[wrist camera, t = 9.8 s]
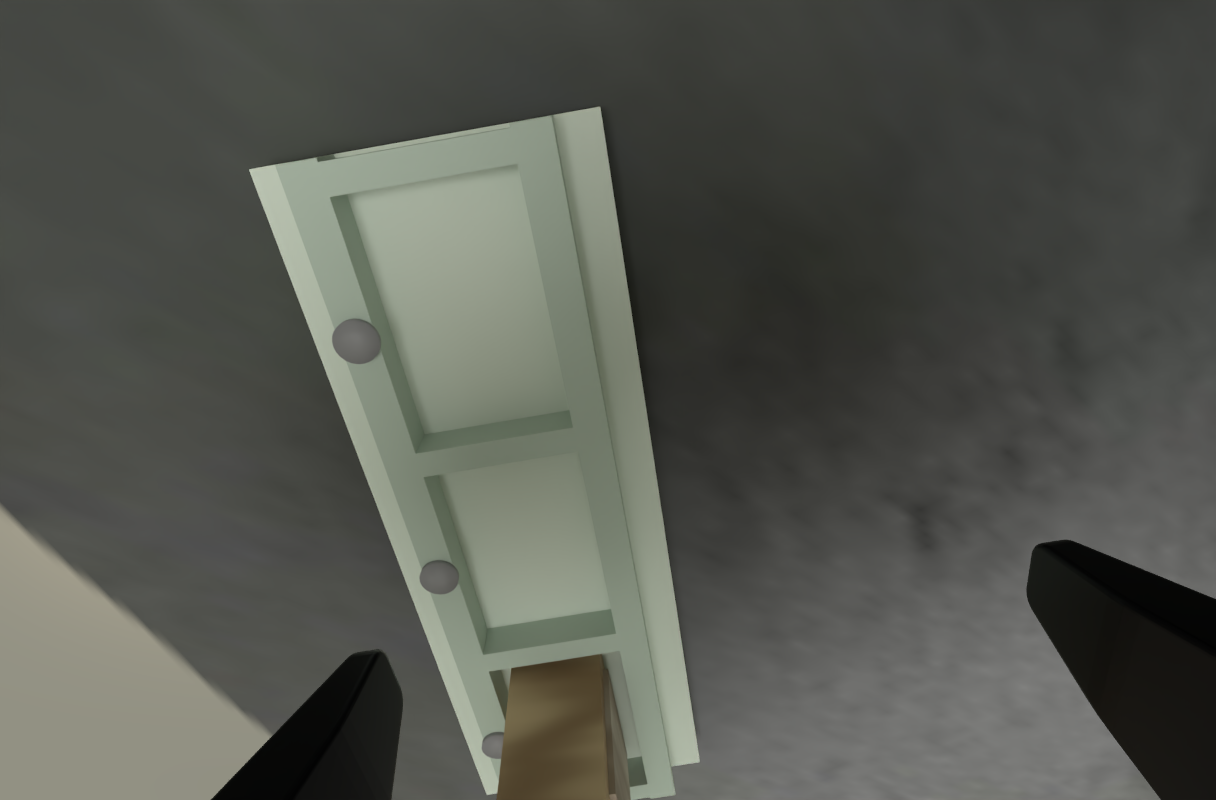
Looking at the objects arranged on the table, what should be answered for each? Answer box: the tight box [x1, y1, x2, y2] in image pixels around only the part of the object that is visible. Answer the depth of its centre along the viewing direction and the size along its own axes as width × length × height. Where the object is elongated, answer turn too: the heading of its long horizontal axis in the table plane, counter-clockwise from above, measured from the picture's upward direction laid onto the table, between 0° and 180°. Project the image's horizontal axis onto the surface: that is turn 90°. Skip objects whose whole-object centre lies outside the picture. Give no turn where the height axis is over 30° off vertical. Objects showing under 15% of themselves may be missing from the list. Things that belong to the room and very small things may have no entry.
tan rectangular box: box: [497, 654, 631, 800], centre depth 22 cm, size 3×6×6 cm, turn 9°
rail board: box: [249, 107, 700, 800], centre depth 21 cm, size 9×25×3 cm, turn 9°
